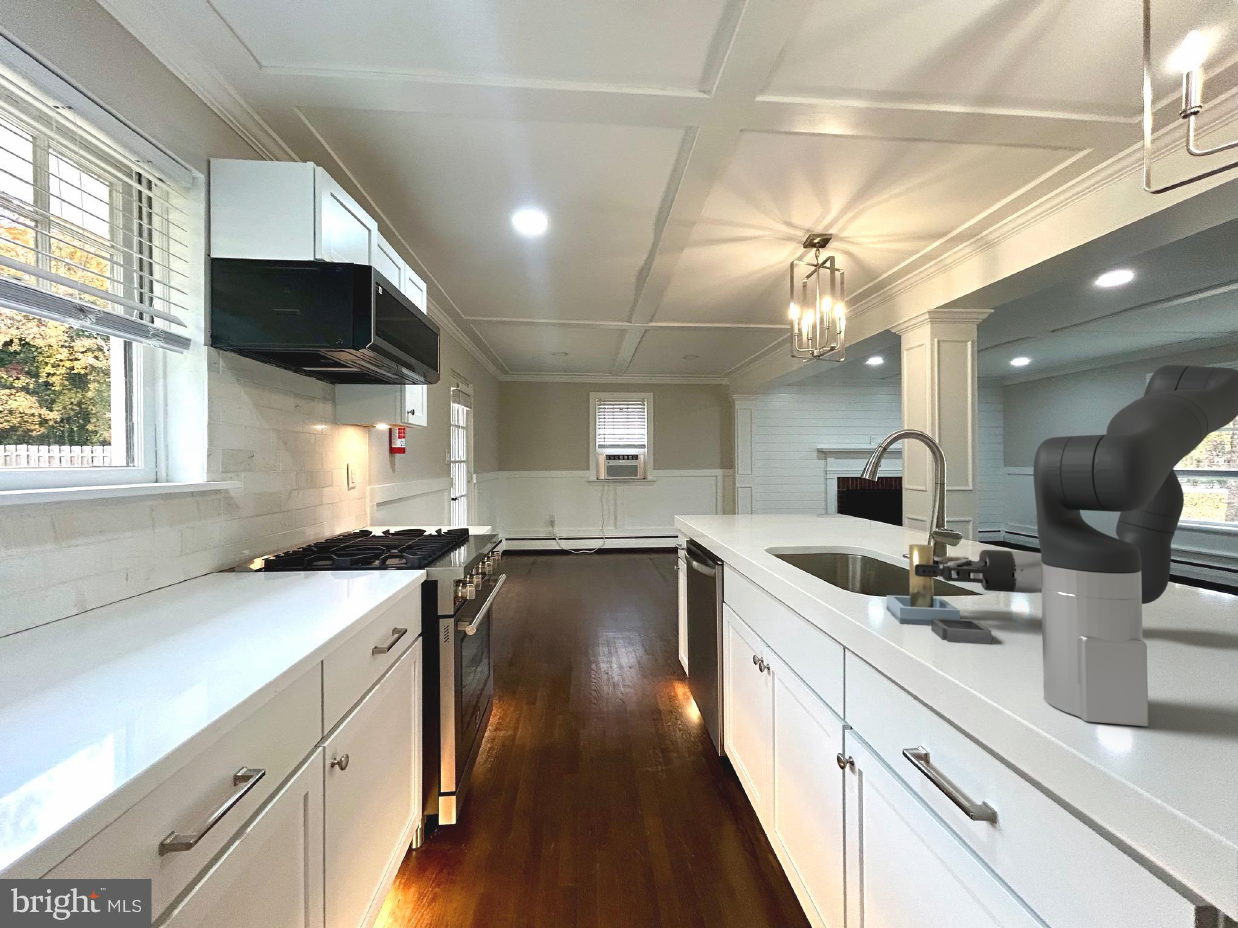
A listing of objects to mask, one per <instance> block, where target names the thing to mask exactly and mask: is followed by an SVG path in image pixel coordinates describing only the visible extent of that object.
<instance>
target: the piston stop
mask: <svg viewBox="0 0 1238 928" xmlns="http://www.w3.org/2000/svg"><path fill="white" fill-rule="evenodd" d="M933 547H934V546H933V545H931V544H930V545H929V544H921V543H920V544H917V543H916V544H914V543H913V544H909V545H908V557H909V558H908V560H909V561H908V563H909V566H908V567H909V571H908V572H909V596H910V607H925V608H934V598H933V597H934V577H922V576H916V575H915V565H916V564H929V565H933V557H934V553H933V552H934V549H933Z"/></svg>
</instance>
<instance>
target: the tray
mask: <svg viewBox="0 0 1238 928" xmlns="http://www.w3.org/2000/svg"><path fill="white" fill-rule="evenodd" d="M933 598H934V608H925V607H910V595H892V594H891V595H888V594H887V595H886V611H887V610H888V611H887V612H888V613H889V612H890V613H891V614H890V613H889V614H890V615H891V616H892V617H893V618H894V619H895V620H896V622H898V623H899V624H900V625H919V626H921V625H922V626H931V619H933V618H949V619H961V615H960V614H961V610H960V609H959V608H957V607H955V606H954V605H952V604H951V603H950V602H948V601H946V600H945V599H944V598H942V597H937V596H935V597H934V596H933Z"/></svg>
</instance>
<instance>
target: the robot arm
mask: <svg viewBox="0 0 1238 928" xmlns="http://www.w3.org/2000/svg"><path fill="white" fill-rule="evenodd" d="M1237 417H1238V369H1234V368H1229V367H1218V366H1204V365H1201V366H1200V365H1184V364H1182V365H1181V364H1166V365H1165V364H1164V365H1161V366H1160V367H1158V368H1157V369H1156V370H1155V371H1154V372H1153V373H1152V375H1151V376H1150V379H1149V380H1148V383H1147V385H1146V388H1145V390H1144V393H1143V397H1142V396H1141V397H1140V398H1137V399H1135V400H1133V401H1132V402H1131V403H1129V404H1127V405H1126V406H1124V407H1122V409H1120V410H1119V411H1118V412H1117V413H1115V415H1114V416H1113V417H1112V418H1111V419H1110V421H1109V423H1108V425H1107V427H1106V433H1105V434H1092V435H1091V434H1090V435H1089V434H1087V435H1068V436H1055V437H1049V438H1046V439H1045V440H1043V441H1042V442H1041V443H1040V444H1039V446H1038V447H1037V449H1036V452H1035V455H1034V459H1033V471H1032V472H1033V473H1032V474H1033V489H1034V498H1035V500H1034V501H1035V509H1036V510H1035V511H1036V522H1037V523H1036V524H1037V528H1036V529H1037V539H1038V544H1039V549H1040V552H1033V551H1025V550H1002V549H1001V550H999V549H983V550H981V551H980V553H979V555H978V556H979V559H978V560H977V561H975V560H972V559H970V557H967V556H949V555H939V554H938V555H933V565H929V564H916V565H915V575H916V576H922V577H933V578H938V579H940V580H943V581H945V582H948V583H949V582H954V583H955V582H958V583H972V584H973V583H976V584H980V585H981V588H982V589H983V590H985V591H987V592H988V591H990V592H1002V593H1003V592H1004V593H1017V594H1041V623H1042V624H1041V626H1042V627H1041V632H1042V633H1041V634H1042V640H1041V641H1042V667H1043V669H1042V671H1043V672H1042V673H1043V674H1042V676H1043V677H1042V678H1043V700H1045V702H1047V703H1048V704H1049V705H1050V706H1052V707H1054V708H1055V709H1058V710H1059V711H1063V712H1065V713H1067V714H1070V715H1072V716H1076V717H1078V718H1080V719H1082V720H1083V721H1085V722H1090V723H1101V724H1102V723H1104V724H1113V725H1114V724H1116V725H1126V726H1127V725H1128V726H1139V727H1149V693H1148V692H1149V690H1148V689H1149V688H1148V683H1149V682H1148V646H1147V644H1146V642H1145V641H1144V640H1143V634H1144V633H1143V605H1146V604H1150V603H1152V602H1155V601H1157V600H1158V599H1159V598H1160V597H1162V595H1163V594H1164V593H1165V591H1166V589H1167V587H1168V584H1169V581H1170V575H1171V566H1172V565H1171V561H1172V540H1173V539H1174V536H1175V533H1176V531H1177V527H1178V525H1179V523H1180V522H1179V521H1180V519H1181V516H1182V512H1183V510H1184V503H1185V498H1184V491H1183V487H1182V485H1181V482H1180V480H1179V478H1178V476H1177V473H1176V472H1175V470H1174V468H1175V467H1176V466H1177V465H1178V464H1179V463H1180V462H1181V461H1182V460H1183V459H1184V458H1185V457H1187V456H1188V455H1189V454H1191V453H1192V452H1193V451H1194V450H1195V449H1196V448H1197V447H1198V446H1199V445H1200V444H1201V443H1203V441H1204V440H1205V439H1206V438H1207V437H1208V436H1209V435H1211V434H1212V433H1214V432H1216V431H1217V430H1218V431H1219V430H1220V429H1222V428H1224V427H1226V426H1227V425H1229V424H1230V423H1232V422H1233V421H1234V420H1235V419H1236V418H1237ZM1081 511H1089V512H1090V511H1094V512H1113V513H1114V512H1115V513H1116V512H1117V513H1119V516H1118V520H1117V522H1116V526H1115V535H1116V536H1117V538H1116V537H1114V536H1111V535H1108V534H1106V533H1104V532H1102V531H1100V530H1099V529H1096V528H1095V527H1093V526H1092V525H1090V524H1088V522H1086V521H1085V520H1084V519H1083V516H1082V514H1081Z"/></svg>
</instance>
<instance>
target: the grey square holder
mask: <svg viewBox="0 0 1238 928" xmlns="http://www.w3.org/2000/svg"><path fill="white" fill-rule="evenodd" d="M930 626H931V631H932V633H934V634H935V635H936V636H937V637H939V639H941V640H944V641H946V642H948V643H951V642H952V643H963V644H964V643H966V644H968V643H969V644H980V645H982V644H983V645H991V644H992V629H990V628H988V627H987V626H986V625H984V624H983V623H981V622H979V620H978V621H977V620H974V619H968V618H967V619H966V618H964V619H963V618H960V619H949V618H933V619H931V625H930Z"/></svg>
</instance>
